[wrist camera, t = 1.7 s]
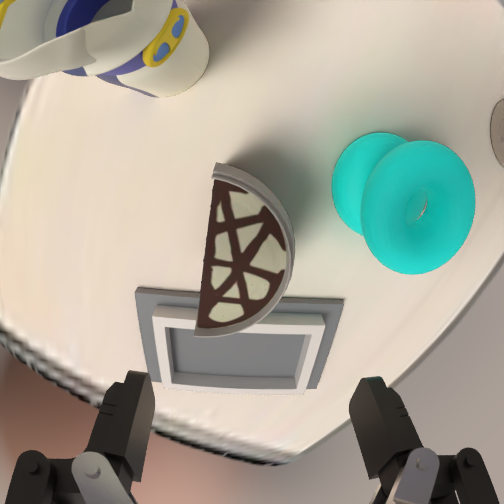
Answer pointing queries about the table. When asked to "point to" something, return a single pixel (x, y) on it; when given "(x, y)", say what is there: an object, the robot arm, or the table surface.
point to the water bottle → (104, 42)
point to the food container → (243, 254)
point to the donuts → (405, 200)
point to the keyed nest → (236, 346)
